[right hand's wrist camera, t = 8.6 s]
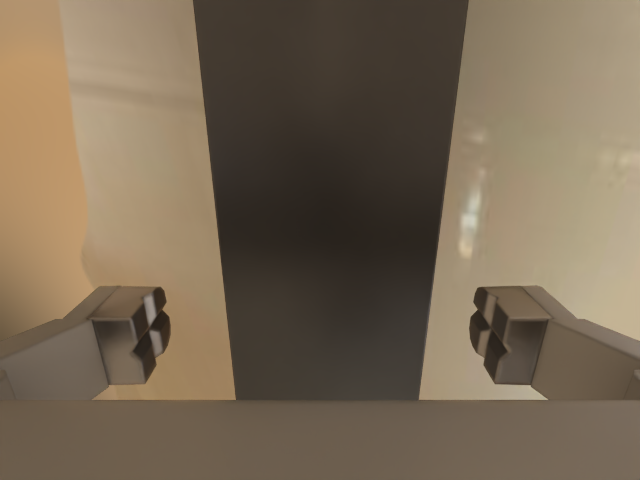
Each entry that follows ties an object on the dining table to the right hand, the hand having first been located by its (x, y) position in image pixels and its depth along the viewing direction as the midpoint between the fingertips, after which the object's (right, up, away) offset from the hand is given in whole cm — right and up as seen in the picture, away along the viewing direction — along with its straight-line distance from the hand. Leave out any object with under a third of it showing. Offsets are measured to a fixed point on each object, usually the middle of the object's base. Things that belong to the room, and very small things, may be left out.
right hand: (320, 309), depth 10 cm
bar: (0, +11, +5) cm, 12 cm away
